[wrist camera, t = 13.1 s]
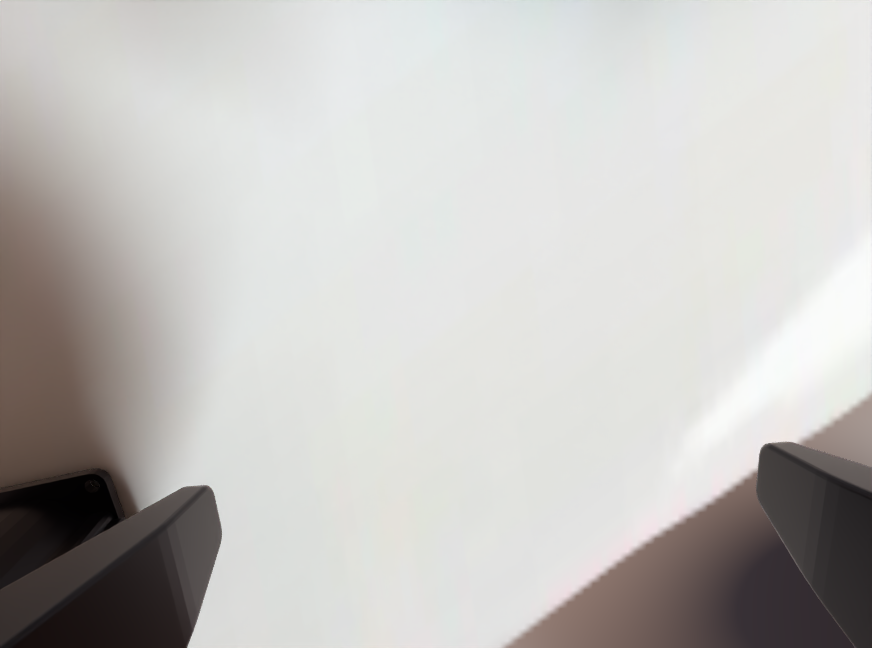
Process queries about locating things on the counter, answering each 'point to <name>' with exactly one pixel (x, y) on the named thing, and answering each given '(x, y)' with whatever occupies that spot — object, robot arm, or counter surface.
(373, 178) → the counter surface
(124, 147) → the counter surface
